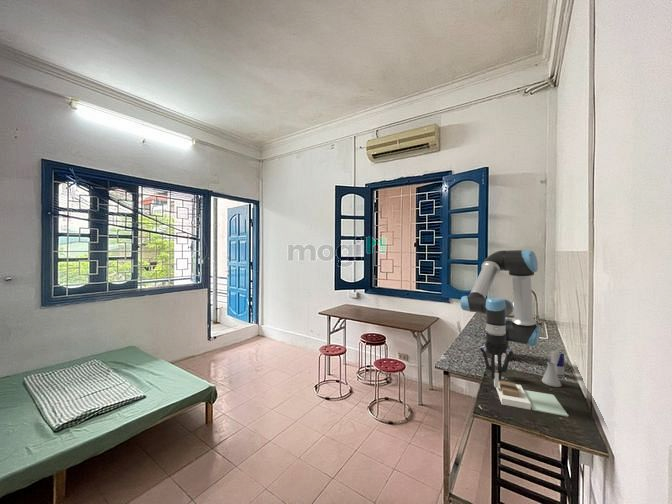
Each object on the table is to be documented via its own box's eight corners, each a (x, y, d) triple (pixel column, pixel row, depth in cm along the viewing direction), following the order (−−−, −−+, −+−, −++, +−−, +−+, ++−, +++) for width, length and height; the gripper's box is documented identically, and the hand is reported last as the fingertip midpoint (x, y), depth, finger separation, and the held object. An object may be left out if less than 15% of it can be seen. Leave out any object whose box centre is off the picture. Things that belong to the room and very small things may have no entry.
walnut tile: (499, 384, 122) (499, 380, 122) (514, 387, 119) (514, 383, 119) (502, 394, 113) (502, 390, 113) (519, 397, 111) (519, 392, 111)
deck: (495, 386, 125) (495, 381, 125) (520, 390, 121) (520, 385, 121) (501, 404, 111) (501, 398, 111) (530, 409, 107) (530, 403, 107)
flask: (538, 380, 131) (537, 359, 131) (553, 380, 131) (552, 359, 131) (549, 387, 124) (549, 366, 124) (565, 387, 124) (565, 366, 124)
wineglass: (488, 375, 137) (487, 351, 137) (498, 373, 138) (498, 350, 138) (499, 381, 130) (498, 356, 130) (510, 379, 132) (510, 355, 132)
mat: (522, 390, 121) (522, 389, 121) (553, 395, 117) (553, 394, 117) (532, 410, 106) (532, 408, 106) (568, 416, 102) (568, 415, 102)
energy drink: (567, 377, 133) (566, 354, 133) (555, 377, 134) (554, 353, 134) (560, 373, 138) (559, 350, 138) (548, 372, 139) (548, 349, 139)
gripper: (480, 334, 117) (480, 387, 117) (515, 337, 112) (515, 393, 112) (478, 329, 124) (478, 379, 124) (511, 332, 119) (511, 385, 119)
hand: (496, 386), depth 118 cm, fingers closed
